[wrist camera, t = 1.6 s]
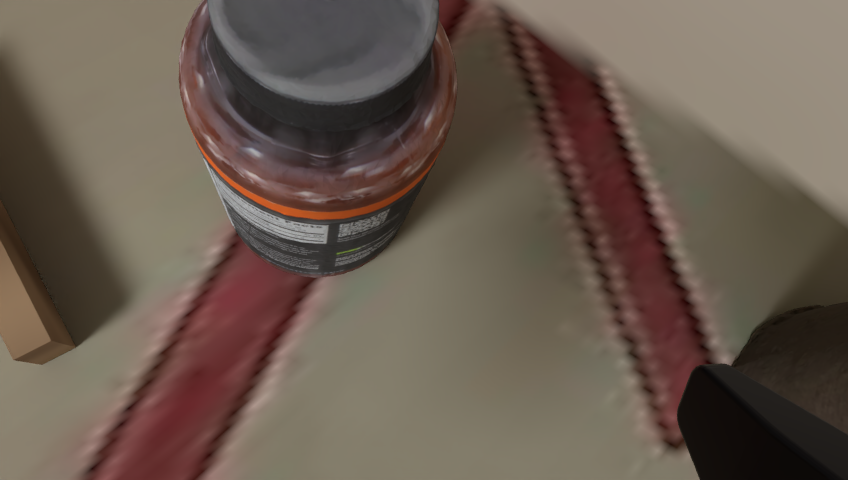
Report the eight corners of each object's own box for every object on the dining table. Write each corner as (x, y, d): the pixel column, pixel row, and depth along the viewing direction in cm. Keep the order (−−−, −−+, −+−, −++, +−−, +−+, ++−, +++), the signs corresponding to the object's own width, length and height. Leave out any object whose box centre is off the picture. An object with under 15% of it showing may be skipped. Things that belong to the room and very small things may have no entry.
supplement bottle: (307, 80, 23) (312, -213, 12) (439, 187, 23) (563, -11, 12) (184, 203, 21) (60, -12, 10) (327, 320, 21) (354, 228, 10)
